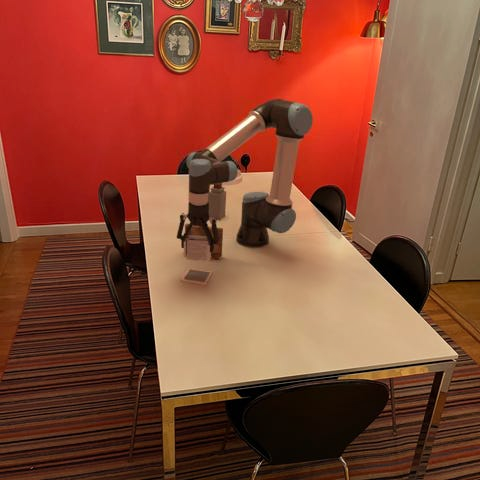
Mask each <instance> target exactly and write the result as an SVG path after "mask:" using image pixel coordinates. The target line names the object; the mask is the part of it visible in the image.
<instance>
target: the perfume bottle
mask: <svg viewBox="0 0 480 480" xmlns="http://www.w3.org/2000/svg"><path fill="white" fill-rule="evenodd" d="M226 202H227V191H226V190H225V186H222V183H218V184H214V185H213V186H211V187H210V192H209V202H208V203H209V216H210V217H211V218H215V217H216V218H217V221H220V220H222V219H223V218H225V216H226V210H227V209H226V208H227V207H226V206H227V205H226V204H227V203H226Z"/></svg>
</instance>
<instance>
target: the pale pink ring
mask: <svg viewBox="0 0 480 480" xmlns="http://www.w3.org/2000/svg"><path fill="white" fill-rule="evenodd" d="M237 170H238V171H237V177H236V179H234V180H232V181H229V182H224V183H222V187H225V186H233V185H237V184H240V183H242V182H243V174H242V171H241V170H240V169H239V168H237ZM212 186H214V184H213V185H212Z"/></svg>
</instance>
